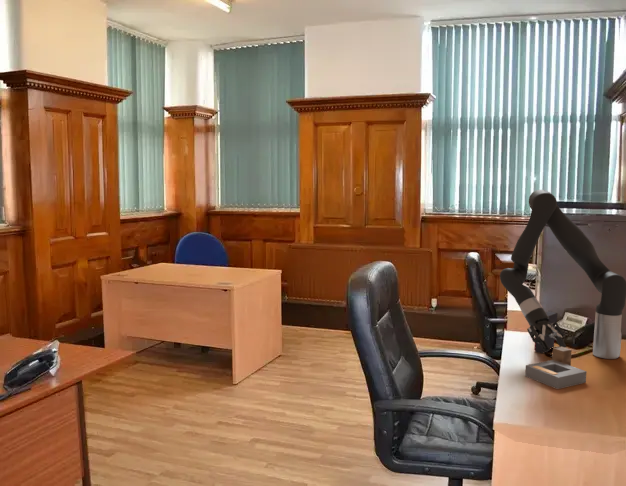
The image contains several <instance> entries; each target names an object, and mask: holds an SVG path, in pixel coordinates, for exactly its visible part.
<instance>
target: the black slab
mask: <svg viewBox="0 0 626 486" xmlns="http://www.w3.org/2000/svg"><path fill="white" fill-rule="evenodd" d="M545 312H546V314H547V315H548V317H549V319H548V321H549V322H550V323H551V324H553V323H554V322H557V321H558V312H555V311H545ZM557 323H558V322H557ZM552 333H553V331H552ZM534 337H535V336H534ZM535 338H536V337H535ZM544 341H546V343H547V345H548V346H549V348H552V347H554V348H555V339H554V338H551V337H550V336H545V337H544ZM533 350H534V352H535V353H538V354H544V353H546V352H545V351H544V350H543V349H542V347H541V345H540V344H539V343H538V342H536V343H534V349H533Z"/></svg>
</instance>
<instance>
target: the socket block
mask: <svg viewBox="0 0 626 486" xmlns="http://www.w3.org/2000/svg"><path fill="white" fill-rule="evenodd" d="M524 371H525V372H524V373H525V374H524V376H525V377H527V378H529V379H531V380H534V381H537V382H539V383H541V384H544V385H546V386H548V387H552V388H554V389H556V390H559V389H563V388H567V387H572V386H577V385H581V384H586V383H587V370H583V369H581V368H578V367H574V366H572V365H571V366H570V365H567V364H564V363H561V362H559V361H556V360H552V359H550V360H546V361H541V362H536V363H530V364H529V363H528V364H526V365H525V370H524Z"/></svg>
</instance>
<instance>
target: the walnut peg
mask: <svg viewBox="0 0 626 486" xmlns="http://www.w3.org/2000/svg"><path fill="white" fill-rule="evenodd" d="M552 353H553V354H552V356H551V360H556V361H559V362H561V363H564V364H567V365H570V366H572V353H573V352H572V349H570V348H567V347H562V346H561V347H560V346H556V347H554V348H553V349H552Z"/></svg>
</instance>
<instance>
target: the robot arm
mask: <svg viewBox="0 0 626 486" xmlns="http://www.w3.org/2000/svg"><path fill="white" fill-rule="evenodd" d="M557 201H558V200H557V198H556V196H554V194H553V193H551V192H550V191H548V190H546V189H536V190H534V191H533V192H531V194H530V195H529V197H528V206H529V208H530V209H531V211H530V212H531V213H530V216H529V219H528V222H527V224H526V226H525V228H524V229H523V231H522V233H521V234H520V236H519V237H518V239H517V241H516V244H515V246H514V248H513V250H512V253H511V256H510V259H511V261H512V262H513V267H512V268H511V267H510V268H509V267H507V268H503V269H502V270H501V271H500V273H499V280H500V282H501V284H502V286H503V287H504V288H505V289H506V290H507V292H508V293H509V294H510V295H511V296H512V297H513V299H514V300H515V301H516V304H517V305H518V307H519V309H520V311H521V313H522V315H523V317H524V318H525V320H526V321H527V324H528V325H529V327H528V328H526V331H527V332H528V334H529V337H530V338H531V340H532V342H533V344H535V343H536V342H538V343H539V344H540V345H541V347H542V349H543V350H544V351H545V352H544V353H548V352H549V351H551V350H550V348H549V346H548V345H547V343H546V341H544V337H545V336H550V337H551V338H554V341H556V343H557V345H558V347H561V346H562V347H565V348H567V345H566V343H565V340H564V339H563V337H564V336H566V335H565V333H564V331H563V330H562V328H561V327H560V326H559V324H558V322H554V323H553V324H551V323H550V322H549V321H548V319H549V317H548V315H547V314H546V312H547V311H545V309H544V307H543V306H542V304H541V302H539V300H538V298H537V297H536V295H535V294H534V292H533V291H532V289H531V288H530V287H528V286H527V285H524V283H525V281H526V280H527V276H528V271H529V262H530V260H531V258H532V256H533V253H534V250H535V248H536V246H537V243H538V241H539V238H540V237H541V234H542V232H543V230H544V228H545V226H548V227H549V229H550V230H551V232H552V234H553V235H554V237H555V239H556V240H557V241H558V242H559V244H560V245H561V246H562V248H563V249H564V250H565V252H566V253H567V254H568V255H569V256H570V257H571V258H572V259H573V261H574V262H575V263H577V265H579V266H580V268H581V269H582V270H583V271H584V273H586V275H587V276H588V278H589V279H590V281H591V283H592V284H593V286H594V287H595V289H596V290H597V291H598V292H599V293H601V297H600V301H599V303H598V304H596V305H595V306H596V307H595V319H594V331H593V332H594V333H593V345H592V355H594V357H597V358H601V359H606V360H607V359H608V360H615V359H618V358H619V357H620V356H621V348H622V347H621V346H622V345H621V344H622V337H623V336H622V335H623V334H622V332H621V330H622V317H623V315H622V314H623V310H624V308H625V306H626V279H625V278H624V277H623V276H622V275H620V274H618V273H616V272H613V271H612V270H610V269H609V268H608V267H607V266H606V264H604V263H603V262H602V260H601V258H599V255H598V254H597V250H596V249H595V246H594V244H593V242H592V241H591V240H590V239H589V238H588V237H587V235H586V234H585V233H584V231H583V230H582V229H581V228H580V227H578V225H577V224H576V223H575V222H573V221H572V220H571V219H570V218H569V217H568V216H567V215H566V214H565V213H564V212H563V211H562V210H561V208H560V206H559V205H558V203H557ZM552 331H553V333H552ZM535 337H536V338H535Z"/></svg>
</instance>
